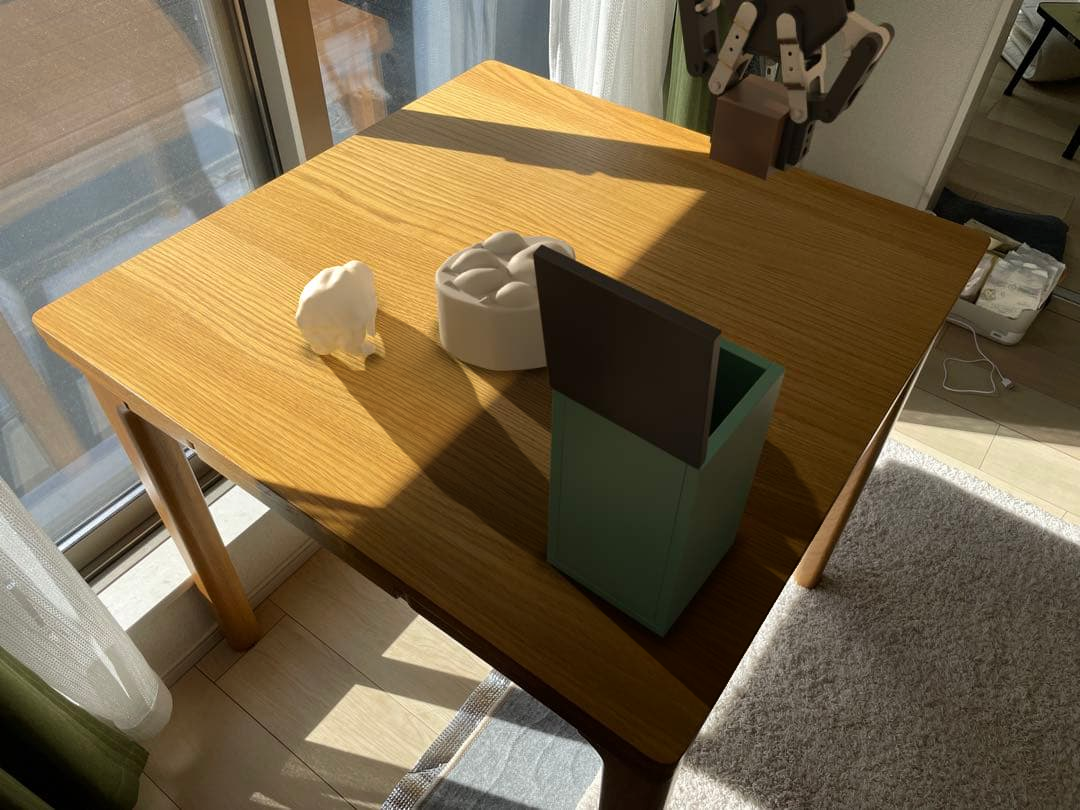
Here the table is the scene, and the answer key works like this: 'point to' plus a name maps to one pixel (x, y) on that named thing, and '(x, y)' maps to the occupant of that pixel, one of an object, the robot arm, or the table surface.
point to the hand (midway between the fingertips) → (753, 152)
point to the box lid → (628, 355)
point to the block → (750, 126)
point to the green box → (656, 495)
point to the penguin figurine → (339, 310)
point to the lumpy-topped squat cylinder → (494, 302)
